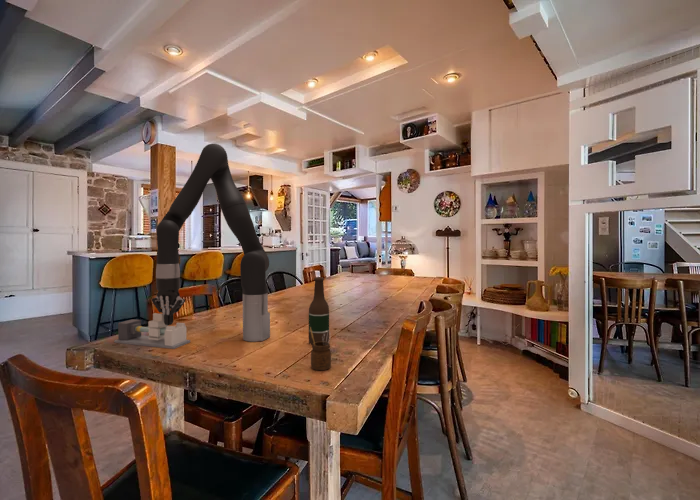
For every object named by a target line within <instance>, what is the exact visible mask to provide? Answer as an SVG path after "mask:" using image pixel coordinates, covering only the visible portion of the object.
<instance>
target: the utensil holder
mask: <svg viewBox="0 0 700 500" xmlns="http://www.w3.org/2000/svg"><path fill="white" fill-rule="evenodd" d="M310 331H311V335H312V339H313V342H314V338H313V333H312V330H311V327H310ZM327 331H328V330H326V331H325V332H327ZM327 333H328V332H327ZM323 335H325V334H323ZM327 336H328V335H327ZM326 338H327V337H326ZM330 340H331V337H329V340H328V342H323V341H320V342H314V343H313V345H312V344H311V348H312V349H311V352H310V366H311V369H313V370H314V371H326V370H328V369H330V368H331V366H332V352H331V349H330V348H331V345H330ZM326 341H327V340H326Z"/></svg>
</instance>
